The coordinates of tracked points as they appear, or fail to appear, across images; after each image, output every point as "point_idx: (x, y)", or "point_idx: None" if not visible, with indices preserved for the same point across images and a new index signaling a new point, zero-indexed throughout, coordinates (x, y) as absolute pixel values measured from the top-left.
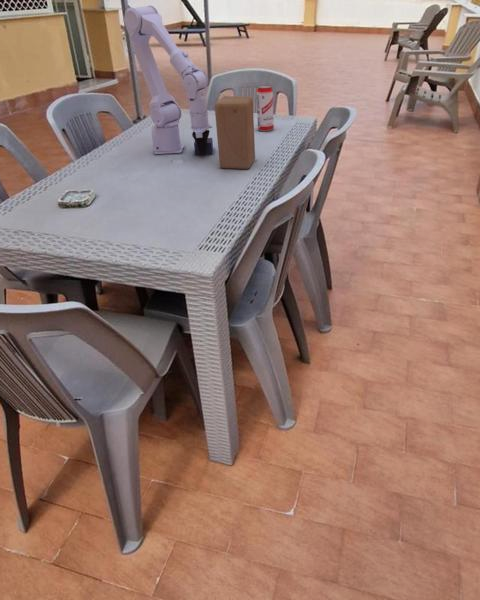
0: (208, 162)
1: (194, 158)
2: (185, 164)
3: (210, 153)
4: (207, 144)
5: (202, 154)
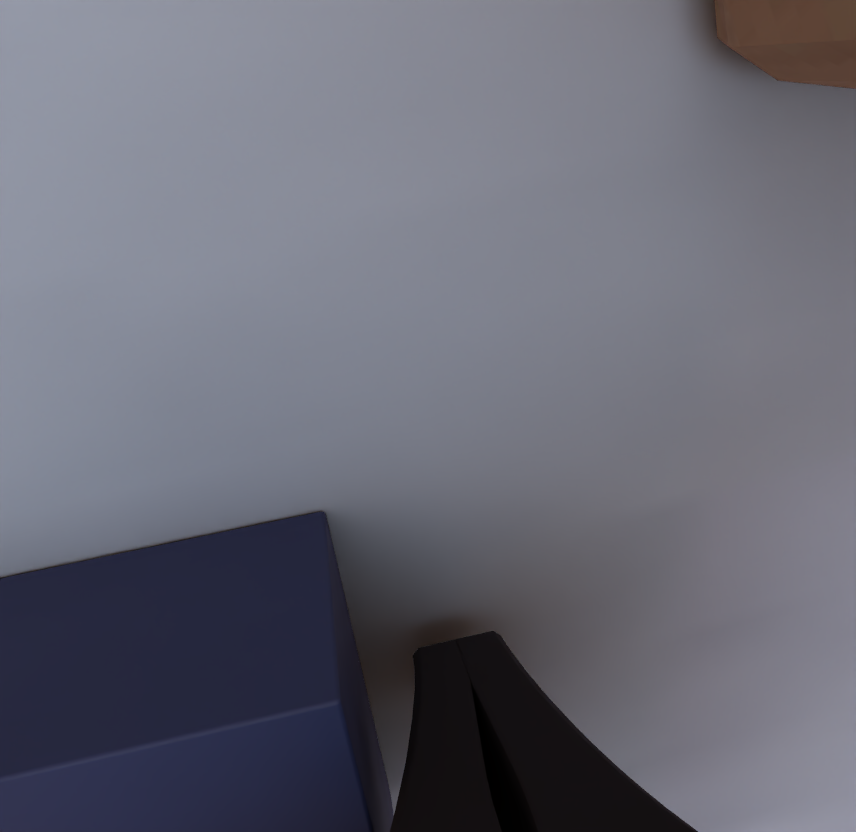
0: (830, 452)
1: None
2: (850, 772)
3: (334, 557)
4: (358, 757)
5: (366, 691)
